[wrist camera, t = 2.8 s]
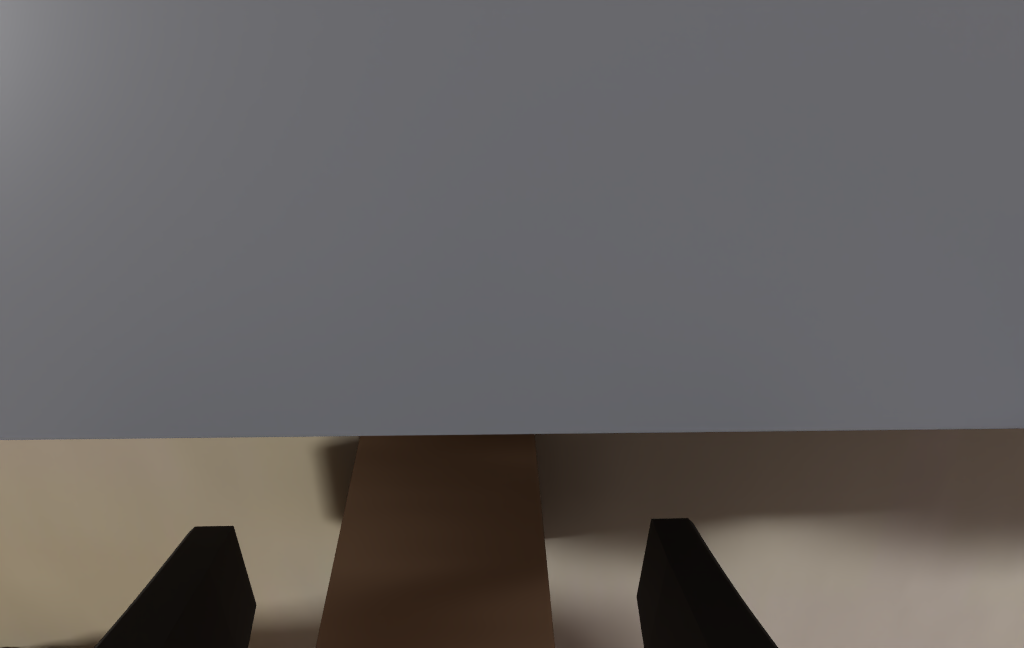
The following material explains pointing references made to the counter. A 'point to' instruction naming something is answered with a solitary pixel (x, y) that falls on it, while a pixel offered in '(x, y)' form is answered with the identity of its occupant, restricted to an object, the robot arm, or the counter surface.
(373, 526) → the brown wooden block
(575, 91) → the block
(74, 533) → the counter surface
